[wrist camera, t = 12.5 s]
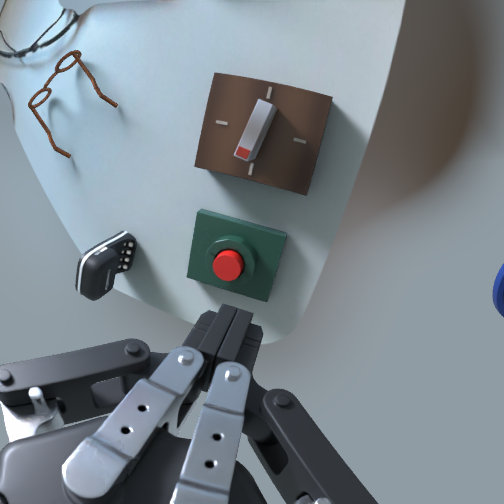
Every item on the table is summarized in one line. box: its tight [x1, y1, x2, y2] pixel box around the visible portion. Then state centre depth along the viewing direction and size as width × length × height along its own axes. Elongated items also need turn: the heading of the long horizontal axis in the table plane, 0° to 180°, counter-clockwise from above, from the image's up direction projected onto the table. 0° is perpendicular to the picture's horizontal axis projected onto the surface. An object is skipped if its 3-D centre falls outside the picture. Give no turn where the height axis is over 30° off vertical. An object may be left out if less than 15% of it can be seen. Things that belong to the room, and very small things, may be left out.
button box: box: [187, 209, 287, 302], centre depth 42 cm, size 12×10×4 cm
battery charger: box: [75, 231, 137, 301], centre depth 42 cm, size 7×4×11 cm, turn 156°
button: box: [213, 250, 244, 281], centre depth 40 cm, size 4×4×2 cm
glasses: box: [28, 50, 118, 158], centre depth 37 cm, size 13×13×5 cm
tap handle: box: [234, 99, 278, 161], centre depth 32 cm, size 6×2×4 cm, turn 156°
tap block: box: [194, 73, 333, 195], centre depth 35 cm, size 14×12×3 cm
